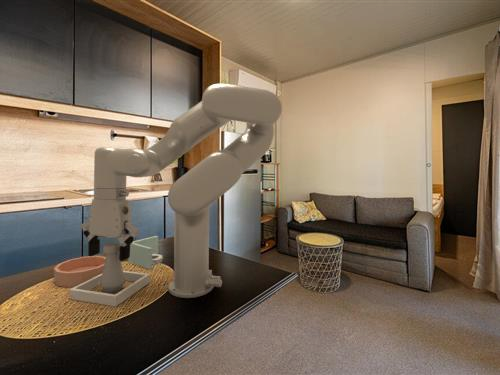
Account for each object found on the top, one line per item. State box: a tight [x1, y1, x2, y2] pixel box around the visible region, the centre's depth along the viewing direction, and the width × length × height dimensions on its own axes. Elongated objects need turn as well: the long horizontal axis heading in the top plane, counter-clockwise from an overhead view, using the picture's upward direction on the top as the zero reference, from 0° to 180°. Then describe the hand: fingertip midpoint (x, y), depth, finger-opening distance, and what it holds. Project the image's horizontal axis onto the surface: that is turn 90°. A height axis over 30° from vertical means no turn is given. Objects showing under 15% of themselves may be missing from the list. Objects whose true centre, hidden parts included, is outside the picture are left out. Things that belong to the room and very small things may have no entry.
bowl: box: [53, 255, 106, 288], centre depth 76 cm, size 14×14×4 cm
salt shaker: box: [100, 242, 126, 294], centre depth 68 cm, size 6×6×13 cm
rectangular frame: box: [69, 270, 151, 307], centre depth 68 cm, size 14×14×2 cm
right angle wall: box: [127, 235, 164, 270], centre depth 91 cm, size 12×12×8 cm
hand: (109, 257), depth 68 cm, fingers open, 9 cm apart
